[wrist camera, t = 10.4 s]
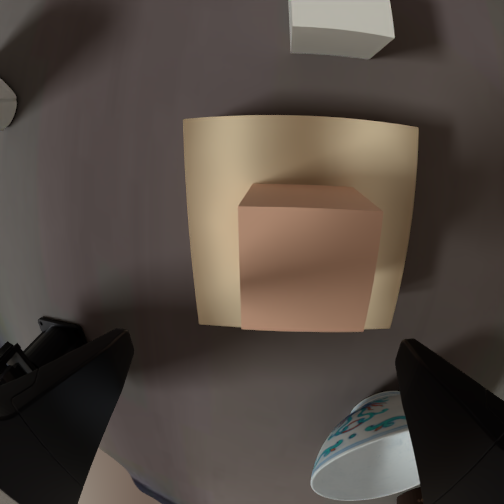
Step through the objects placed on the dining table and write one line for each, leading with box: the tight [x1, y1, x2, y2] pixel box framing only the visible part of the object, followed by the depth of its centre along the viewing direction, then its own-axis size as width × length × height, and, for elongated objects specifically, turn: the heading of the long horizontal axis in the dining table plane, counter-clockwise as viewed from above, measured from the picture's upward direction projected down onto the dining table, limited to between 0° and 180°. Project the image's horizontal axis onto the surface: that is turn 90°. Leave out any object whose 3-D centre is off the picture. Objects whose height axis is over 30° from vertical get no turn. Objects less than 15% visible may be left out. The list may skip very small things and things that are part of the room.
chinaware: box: [311, 391, 420, 501], centre depth 22 cm, size 15×15×8 cm
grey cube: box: [288, 0, 395, 59], centre depth 12 cm, size 5×5×5 cm
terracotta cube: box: [238, 184, 383, 332], centre depth 13 cm, size 5×5×5 cm
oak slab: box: [183, 115, 419, 329], centre depth 17 cm, size 12×12×4 cm
